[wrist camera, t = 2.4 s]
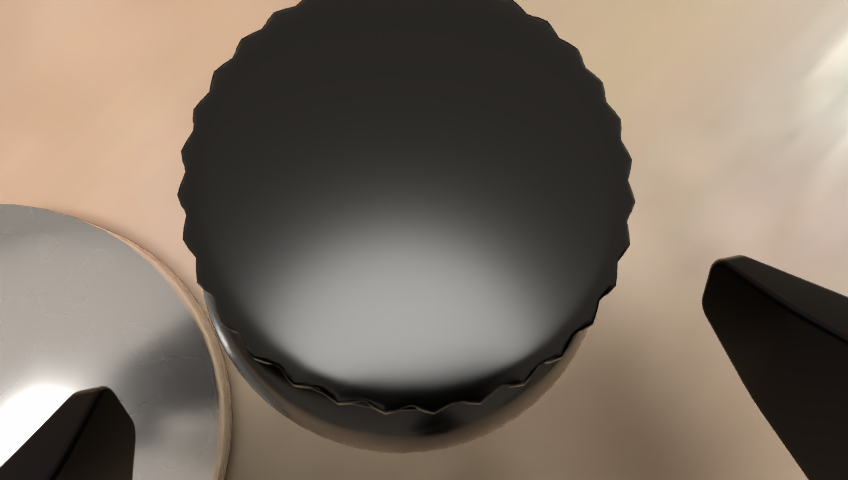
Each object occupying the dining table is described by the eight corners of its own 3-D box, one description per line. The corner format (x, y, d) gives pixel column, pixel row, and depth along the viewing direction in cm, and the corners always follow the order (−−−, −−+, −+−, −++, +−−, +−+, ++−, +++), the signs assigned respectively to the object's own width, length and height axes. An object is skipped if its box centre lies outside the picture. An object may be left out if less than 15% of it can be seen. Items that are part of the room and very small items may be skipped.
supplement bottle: (543, 253, 18) (845, 90, 6) (436, 443, 17) (550, 706, 5) (364, 145, 18) (315, -213, 6) (245, 324, 17) (-92, 297, 5)
